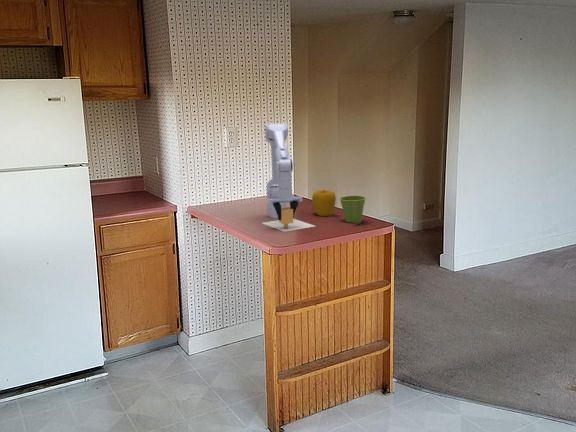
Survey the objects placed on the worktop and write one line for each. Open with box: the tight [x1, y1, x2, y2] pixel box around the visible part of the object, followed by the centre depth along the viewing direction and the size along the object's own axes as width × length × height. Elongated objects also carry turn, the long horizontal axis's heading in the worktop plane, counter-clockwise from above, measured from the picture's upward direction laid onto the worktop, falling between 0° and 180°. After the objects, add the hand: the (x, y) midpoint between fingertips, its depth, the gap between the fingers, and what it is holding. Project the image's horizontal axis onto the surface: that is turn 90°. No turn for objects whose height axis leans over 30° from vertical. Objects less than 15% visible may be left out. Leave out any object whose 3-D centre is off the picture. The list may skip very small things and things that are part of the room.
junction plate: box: [261, 218, 315, 232], centre depth 252 cm, size 20×16×4 cm
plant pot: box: [339, 195, 367, 225], centre depth 255 cm, size 12×12×11 cm
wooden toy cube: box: [279, 206, 293, 224], centre depth 244 cm, size 5×5×6 cm
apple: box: [311, 189, 337, 217], centre depth 269 cm, size 11×11×13 cm
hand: (285, 219), depth 245 cm, fingers closed on wooden toy cube, 5 cm apart
